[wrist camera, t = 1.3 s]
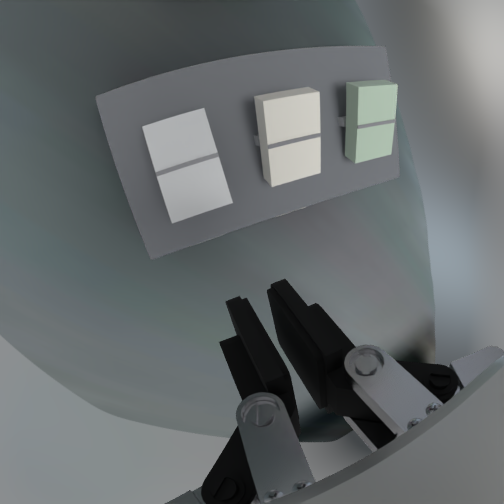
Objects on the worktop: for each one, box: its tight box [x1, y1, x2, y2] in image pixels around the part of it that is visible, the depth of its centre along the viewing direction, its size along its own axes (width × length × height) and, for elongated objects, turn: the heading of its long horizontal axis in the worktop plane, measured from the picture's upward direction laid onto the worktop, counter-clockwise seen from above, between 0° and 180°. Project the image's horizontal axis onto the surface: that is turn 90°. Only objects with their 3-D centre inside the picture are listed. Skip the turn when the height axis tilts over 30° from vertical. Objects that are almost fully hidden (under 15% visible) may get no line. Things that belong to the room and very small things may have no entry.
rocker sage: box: [345, 80, 398, 163], centre depth 24 cm, size 7×4×2 cm, turn 13°
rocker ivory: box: [254, 87, 321, 187], centre depth 22 cm, size 7×4×2 cm, turn 13°
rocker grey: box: [142, 108, 233, 223], centre depth 21 cm, size 7×4×2 cm, turn 14°
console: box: [95, 46, 400, 260], centre depth 26 cm, size 14×26×7 cm, turn 103°
